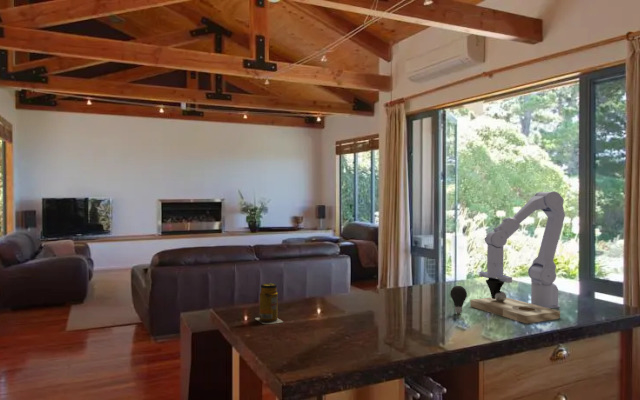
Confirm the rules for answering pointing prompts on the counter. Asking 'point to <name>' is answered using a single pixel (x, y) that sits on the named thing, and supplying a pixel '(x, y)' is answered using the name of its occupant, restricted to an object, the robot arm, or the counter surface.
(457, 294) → the light bulb
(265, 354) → the counter surface
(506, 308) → the deck
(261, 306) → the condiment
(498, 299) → the ball
